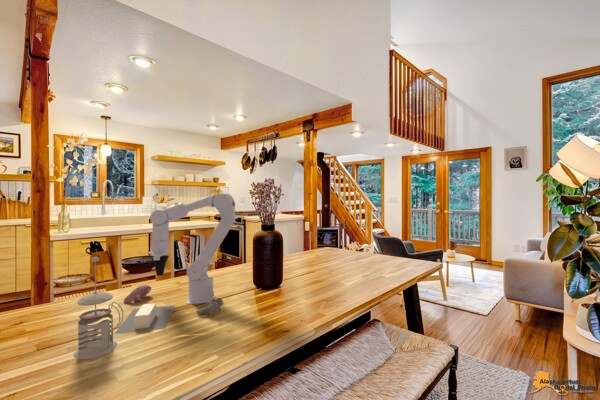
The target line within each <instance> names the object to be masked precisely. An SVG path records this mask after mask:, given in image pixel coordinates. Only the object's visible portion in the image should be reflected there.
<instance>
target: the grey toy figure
mask: <svg viewBox="0 0 600 400" xmlns="http://www.w3.org/2000/svg"><path fill="white" fill-rule="evenodd" d="M224 303H225V302H224V301H223V299H222V298H221V297H216V296H215V298H214V300H213V301H212V299H211V302H210V303H209V304H208V305H207V306H206V307H204V308H203V307H202V308H200V309H198V310H196V314H197V315H198V316H202V315H204V314H206V313H210V314H209V317H211V316H212V314H213V313H215V312H216V311H219V312H222V310H221V308H220V307H221V306H223V305H224Z"/></svg>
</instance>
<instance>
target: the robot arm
mask: <svg viewBox="0 0 600 400" xmlns="http://www.w3.org/2000/svg"><path fill="white" fill-rule="evenodd" d="M205 207H210V208H215V209H216V210H217V212H218V214H219V216H220V221H219V223H218V224H217V226H216V227H215V229H214V231H213V233H212V234H211V236H210V237H209V239H208V241H207V242H206V243H205V245H204V247H203V249H202V251H201V252H200V253H199V254H198V256H197V257H196V259H195V260H194V262H192V263H191V264H189V265H188V267H187V268H186V277H188V298H187V302H186V305H194V304H205V303H211V299H212V301H213V302H214V296H215V294H214V293H215V291H214V277H209V275H208V271H209V270H210V263H211V262H212V261H213V260H212V259H213V257H214V256H215V255H216V252H217V251H218V250H219V247H220V246H221V244H223V243H222V242H223V241H224V239H225V238H226V236H227V235H228V233H229V231H230V230H231V228H232V226H233V224H234V223H235V220H236V202H235V200H234V197H233V196H232V195H231V194H229V193H218V194H212V195H208V196H204V197H202V198H200V199H197V200H194V201H192V202H191V201H190V202H188V203H187V204H185V203H183V202H178V201H176V202H174V203H173V205H170V206H164V207H162V209H156V210H154V211H152V212H151V214H150V216H149V219H150V222H151V223H152V241H151V243H152V245H151V247H152V249H151V251H149V252H148V254H149V255H152V257H151V262H152V263H153V265H154V269H155V274H156V277H159V276H164V273H165V270H166V269H165V268H166V265H167V262H168V259H169V253H170V251H169V232H170V229H169V223H170V222H173V221H176V220H180V219H182V218H185V217H188V214H189V212H193V211H196V210H198V209H202V208H205Z"/></svg>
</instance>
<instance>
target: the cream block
mask: <svg viewBox="0 0 600 400" xmlns="http://www.w3.org/2000/svg"><path fill="white" fill-rule="evenodd" d="M156 307H157V303H147V304H146V303H145V304H143V305H141V307H140V308H138V309H139V311H138V312H137V314H136V315H135V329H139V328H148V327H150V325H151V323H152V321H153V319H154V318H155V316H156Z"/></svg>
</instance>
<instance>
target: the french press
mask: <svg viewBox="0 0 600 400" xmlns="http://www.w3.org/2000/svg"><path fill="white" fill-rule="evenodd" d="M90 262H92V263H94V292H91V293H89V294H85V295H84V296H81V298H79V299H78V300H77V301H76V304H77V305H79V306H94V309H91V310H88V311H85V312H83V313H81V314H79V316H78V317H79V321H78V322H77V333H78V334H77V339H78V340H77V345H78V348H77V349H76V350H75V352H73V357H74V359H78V360H90V359H95V358H98V357H101V356H104V355H106V354H109V353H111V352H112V351H113V350H115V349H116V348H117V347H118V343H117V342H116V340H114V331H115V330H116V329H118V328H119V327H120V326H121V325H122V323H123V322H124V321H123V320H124V309H123V307H122V306H121V305H120V304H119V303H117V302H115V301H112V302H111V303H110V304H109V305H107V306H108V307H107V308H105V307H104V308H103V307H102V308H97V305H101V304H104V303H107V302H109V301H111V300H112V299H113V298H114V295H113V294H112V293H109V292H108V291H107V292H106V291H97V262H100V257H98V256H93V257H92V258H91V259H90ZM114 304H115V305H117V306H118V307H119V308H120V310H121V312H120V311H119V308H118V307H117V306H115V305H114ZM110 306H111V307H110ZM113 308H114V309H115V310H116V311H117V313H118V323H117V324H116V326H115V327H114V316H113V314H112V309H113ZM121 313H122V314H121ZM121 315H122V318H121ZM105 318H107V319H105ZM102 319H103V320H102ZM100 320H101V321H100ZM99 321H100V322H99ZM94 323H95V324H94Z"/></svg>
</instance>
